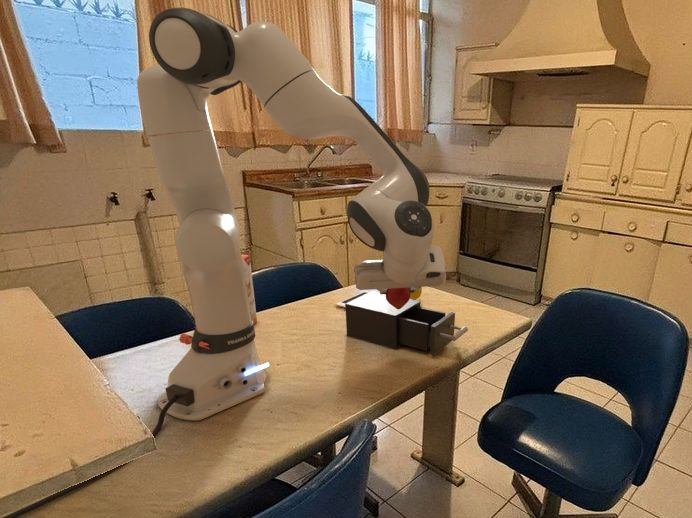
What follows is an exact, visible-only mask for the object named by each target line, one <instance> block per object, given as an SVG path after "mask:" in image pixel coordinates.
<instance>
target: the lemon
mask: <svg viewBox="0 0 692 518" xmlns="http://www.w3.org/2000/svg"><path fill="white" fill-rule="evenodd" d="M422 288H423V287H421V288H419V289H418V290H416V293H410V299H411V300H416V301H417V300H418V299H419V298H420V297H421V295H422V292H423V289H422Z"/></svg>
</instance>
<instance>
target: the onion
mask: <svg viewBox="0 0 692 518" xmlns="http://www.w3.org/2000/svg"><path fill="white" fill-rule="evenodd" d="M409 299H410V290H409V288H391V289H387V293H386V300H387V301H388V303H390V304H391V305H392V306H393V307H395V308H396V309H401V308H402V307H403V306H404V305H406V303H407V302H408V301H409Z"/></svg>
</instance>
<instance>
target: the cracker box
mask: <svg viewBox="0 0 692 518" xmlns="http://www.w3.org/2000/svg"><path fill="white" fill-rule="evenodd" d="M241 257H242V263H243V270H244V276H245V282H246V287H247V294H248V302H249V309H250V316H251V320H252V321H253V324H254V326H255V325H256V324H257V323H258V317H257V310H256V308H257V307H256V301H255V291H254V282H253V273H252V265H251V255H250V254H241Z"/></svg>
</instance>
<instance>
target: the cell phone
mask: <svg viewBox="0 0 692 518" xmlns="http://www.w3.org/2000/svg"><path fill="white" fill-rule="evenodd" d="M369 292H370V290H364V291H362V292H360V293H358V294H355V295H353V296H351V297H349V298H346V299H344V300H341V301H339V302H337V303H335V306H336V307H340V308H344V309H345V304H346V303H348V302H350V301H352V300H354V299H357V298H359V297H361V296H363V295H365V294H367V293H369Z"/></svg>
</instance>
